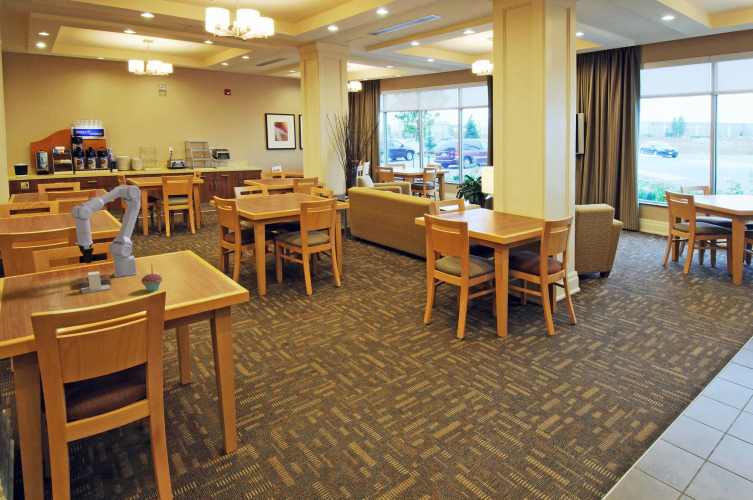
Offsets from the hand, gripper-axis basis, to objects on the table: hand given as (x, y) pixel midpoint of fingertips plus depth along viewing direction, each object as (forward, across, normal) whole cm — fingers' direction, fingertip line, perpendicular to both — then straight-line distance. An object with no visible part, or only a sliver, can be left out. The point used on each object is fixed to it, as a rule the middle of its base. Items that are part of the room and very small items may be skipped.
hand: (87, 261), depth 235 cm
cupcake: (+11, +27, +22) cm, 36 cm away
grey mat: (+10, +13, +1) cm, 16 cm away
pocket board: (+10, +3, +1) cm, 11 cm away
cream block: (+10, +13, +1) cm, 16 cm away
